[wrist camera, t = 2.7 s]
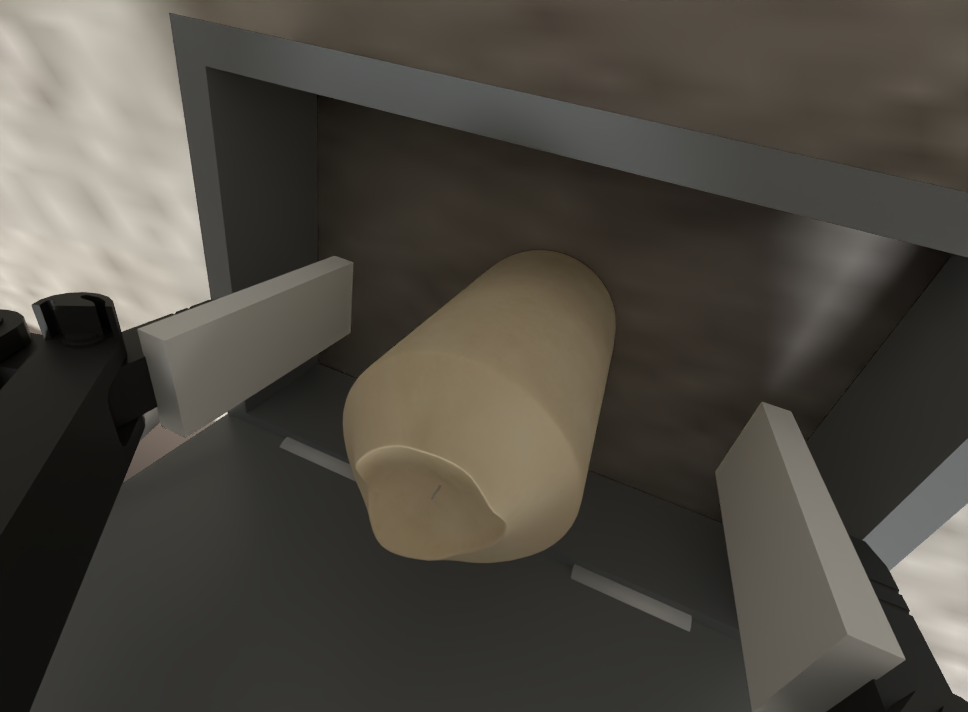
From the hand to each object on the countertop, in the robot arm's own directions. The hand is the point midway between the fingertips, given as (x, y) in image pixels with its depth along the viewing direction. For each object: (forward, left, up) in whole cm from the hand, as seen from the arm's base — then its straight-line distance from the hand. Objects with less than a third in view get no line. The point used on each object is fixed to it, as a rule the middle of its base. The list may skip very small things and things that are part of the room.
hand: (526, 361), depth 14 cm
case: (0, 0, -3) cm, 3 cm away
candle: (0, 0, -3) cm, 3 cm away
